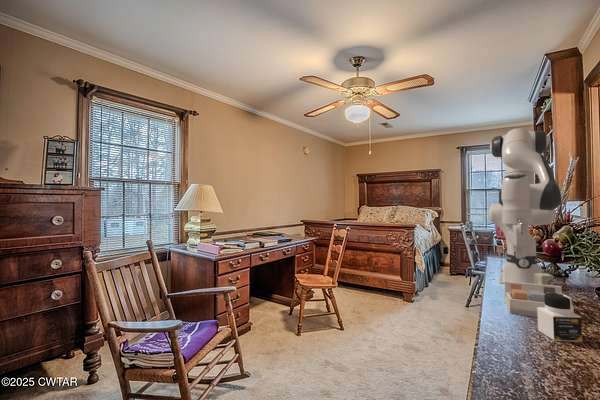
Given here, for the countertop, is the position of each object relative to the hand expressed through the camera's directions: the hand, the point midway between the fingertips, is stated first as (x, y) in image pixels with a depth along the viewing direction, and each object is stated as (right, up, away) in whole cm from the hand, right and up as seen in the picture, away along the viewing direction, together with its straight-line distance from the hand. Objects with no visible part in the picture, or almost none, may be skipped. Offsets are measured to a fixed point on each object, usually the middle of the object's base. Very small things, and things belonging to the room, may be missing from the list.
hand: (518, 257), depth 107 cm
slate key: (+5, -14, -3) cm, 15 cm away
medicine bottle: (-4, -19, -21) cm, 29 cm away
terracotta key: (0, -15, 0) cm, 15 cm away
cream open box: (+6, -19, -1) cm, 20 cm away
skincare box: (+19, -19, +11) cm, 29 cm away
